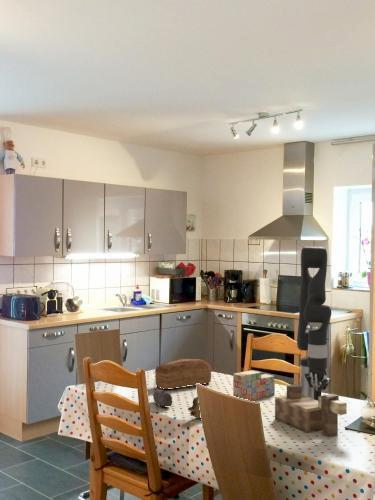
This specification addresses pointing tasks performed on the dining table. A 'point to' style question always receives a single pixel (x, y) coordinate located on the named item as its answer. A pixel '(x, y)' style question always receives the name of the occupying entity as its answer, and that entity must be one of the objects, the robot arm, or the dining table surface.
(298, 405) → the lid
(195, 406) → the wooden carving
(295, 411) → the brown wooden blocky piece
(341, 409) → the wooden key
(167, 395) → the perforated stone tool
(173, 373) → the bread
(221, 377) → the dining table surface
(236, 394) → the stack of blocks
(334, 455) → the dining table surface
